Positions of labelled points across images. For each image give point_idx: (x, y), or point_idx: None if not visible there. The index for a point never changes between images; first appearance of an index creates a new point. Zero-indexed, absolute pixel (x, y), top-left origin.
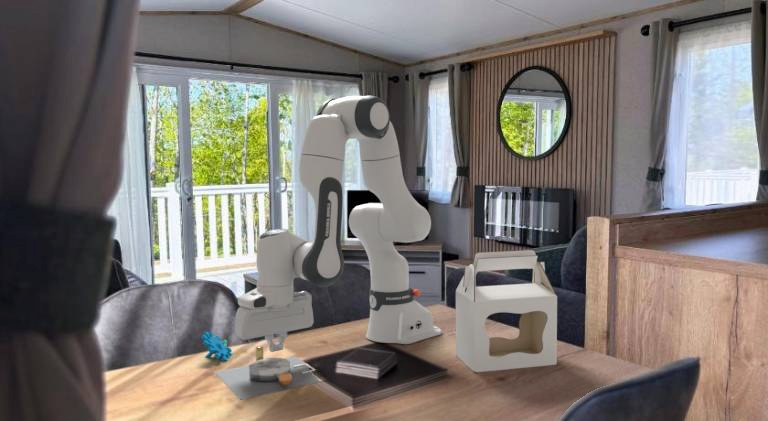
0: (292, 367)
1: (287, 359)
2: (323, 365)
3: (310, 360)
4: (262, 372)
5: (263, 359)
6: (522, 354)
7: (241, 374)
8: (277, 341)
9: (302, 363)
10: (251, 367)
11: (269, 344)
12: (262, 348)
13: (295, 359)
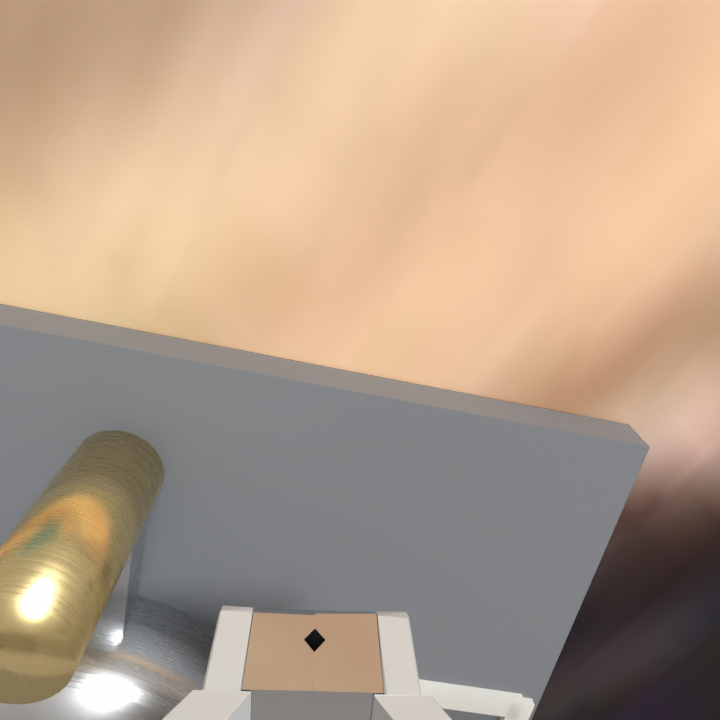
0: None
1: (505, 472)
2: (670, 699)
3: (712, 531)
4: None
5: (44, 700)
6: None
7: None
8: (377, 706)
9: (521, 662)
10: None
11: (204, 687)
12: (51, 686)
13: (564, 530)
